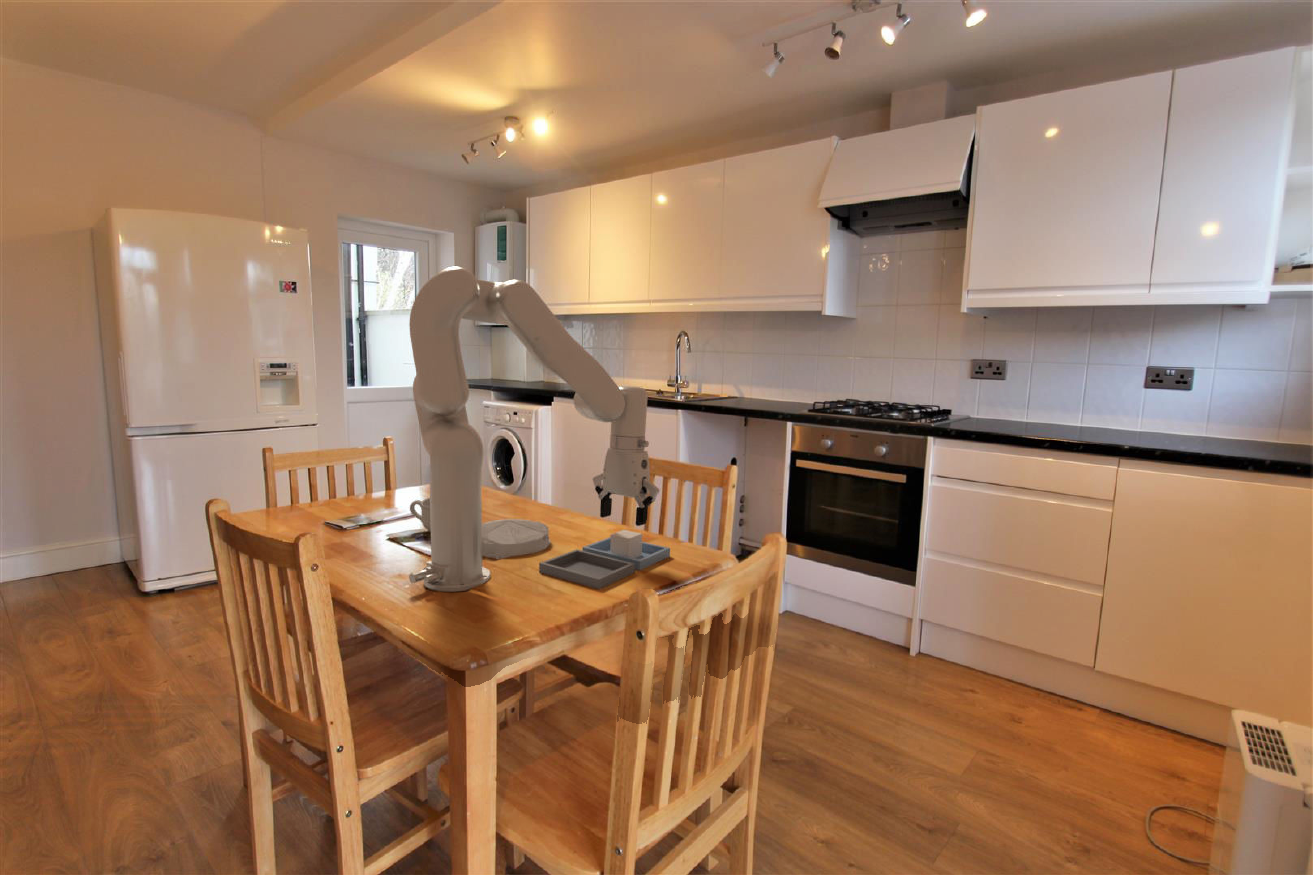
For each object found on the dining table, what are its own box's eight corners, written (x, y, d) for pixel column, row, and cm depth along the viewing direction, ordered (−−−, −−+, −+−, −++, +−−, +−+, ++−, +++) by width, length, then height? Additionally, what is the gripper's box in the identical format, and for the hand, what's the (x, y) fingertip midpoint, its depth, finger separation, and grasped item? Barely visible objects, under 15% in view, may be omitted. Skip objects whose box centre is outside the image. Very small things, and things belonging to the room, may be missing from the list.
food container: (561, 538, 156) (561, 511, 156) (538, 562, 137) (538, 532, 136) (483, 535, 158) (483, 508, 158) (449, 558, 139) (449, 528, 138)
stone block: (628, 560, 137) (628, 538, 136) (610, 556, 140) (610, 534, 139) (641, 555, 141) (642, 533, 140) (623, 550, 144) (624, 529, 143)
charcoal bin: (598, 592, 120) (599, 579, 120) (539, 574, 129) (539, 562, 128) (634, 575, 130) (634, 563, 129) (576, 560, 138) (576, 549, 138)
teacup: (475, 528, 162) (474, 497, 161) (450, 539, 151) (449, 507, 150) (427, 522, 165) (427, 493, 164) (400, 533, 155) (399, 502, 154)
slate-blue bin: (639, 572, 131) (640, 561, 131) (582, 558, 140) (582, 547, 140) (669, 558, 141) (670, 547, 141) (614, 545, 149) (614, 535, 149)
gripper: (670, 447, 135) (665, 525, 137) (606, 437, 145) (602, 510, 147) (650, 449, 129) (645, 531, 131) (585, 439, 139) (581, 516, 140)
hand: (622, 520), depth 139 cm, fingers open, 9 cm apart
